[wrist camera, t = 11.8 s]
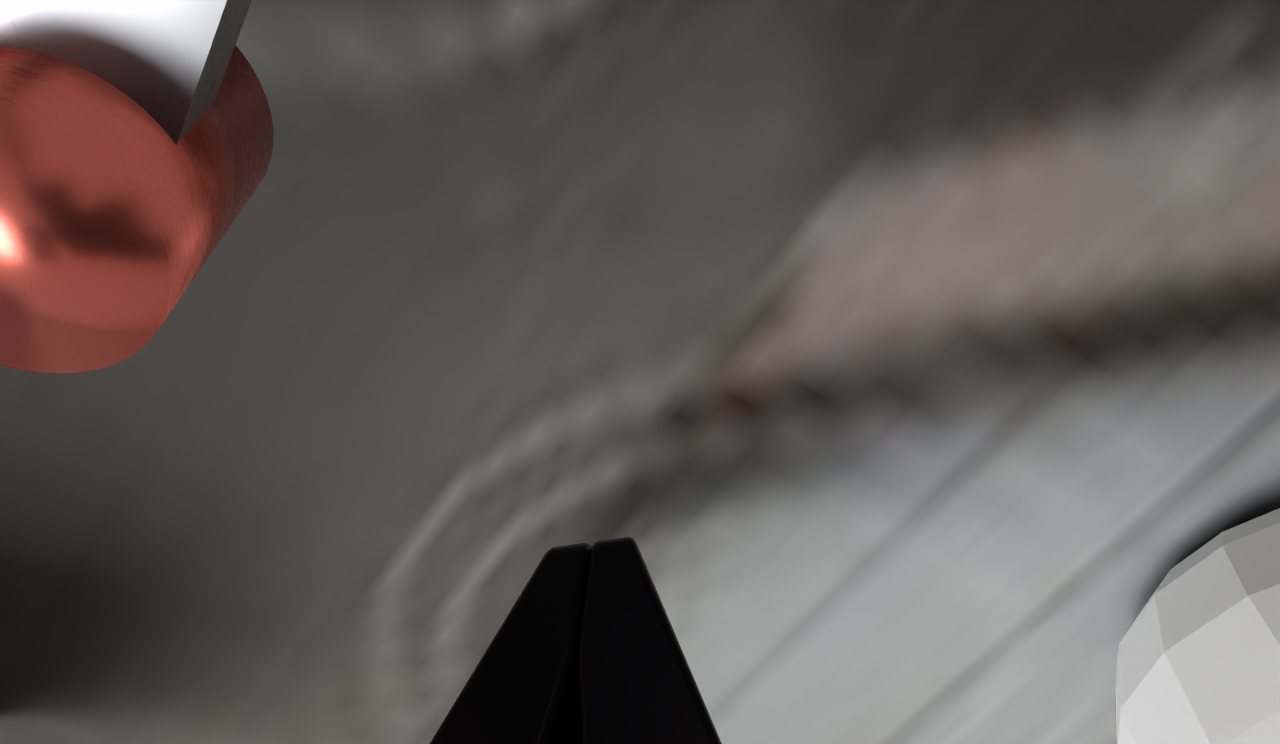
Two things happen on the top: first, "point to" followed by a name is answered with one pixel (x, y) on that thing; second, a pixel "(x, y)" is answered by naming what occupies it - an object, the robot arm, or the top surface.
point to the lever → (117, 168)
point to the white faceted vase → (1208, 647)
